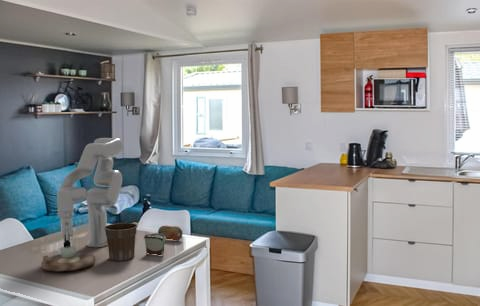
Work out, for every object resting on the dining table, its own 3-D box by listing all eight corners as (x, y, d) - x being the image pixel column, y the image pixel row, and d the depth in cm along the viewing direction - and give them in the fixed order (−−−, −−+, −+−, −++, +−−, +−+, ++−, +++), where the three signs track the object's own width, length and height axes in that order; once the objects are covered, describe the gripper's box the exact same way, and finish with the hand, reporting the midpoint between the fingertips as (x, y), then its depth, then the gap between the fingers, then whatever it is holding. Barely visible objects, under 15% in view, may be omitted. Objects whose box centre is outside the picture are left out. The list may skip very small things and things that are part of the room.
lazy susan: (92, 253, 234) (92, 244, 234) (98, 266, 212) (97, 257, 212) (41, 259, 225) (41, 250, 224) (41, 274, 203) (41, 264, 202)
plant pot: (103, 255, 235) (102, 224, 234) (134, 251, 242) (134, 221, 241) (107, 264, 221) (106, 231, 219) (141, 260, 227) (140, 227, 226)
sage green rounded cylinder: (75, 253, 228) (75, 245, 228) (76, 257, 222) (76, 249, 222) (60, 255, 226) (59, 247, 225) (60, 259, 219) (60, 251, 219)
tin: (157, 239, 265) (157, 225, 264) (160, 238, 268) (160, 224, 267) (180, 242, 259) (180, 227, 258) (183, 241, 262) (183, 226, 261)
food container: (171, 253, 238) (170, 234, 237) (164, 256, 232) (163, 237, 231) (151, 250, 243) (150, 232, 242) (144, 254, 237) (143, 234, 236)
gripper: (74, 216, 225) (76, 253, 226) (73, 210, 238) (74, 245, 240) (58, 217, 222) (59, 254, 223) (57, 211, 235) (58, 247, 237)
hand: (67, 249), depth 231 cm, fingers closed
